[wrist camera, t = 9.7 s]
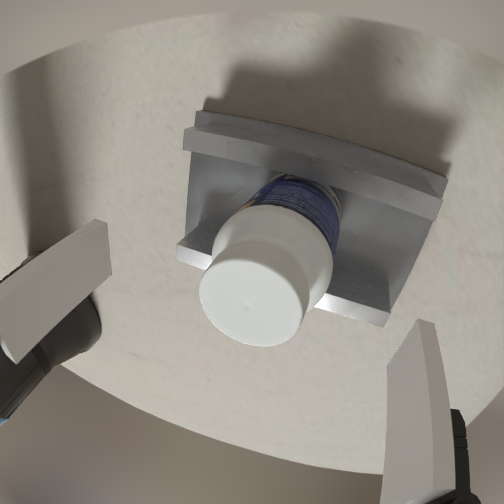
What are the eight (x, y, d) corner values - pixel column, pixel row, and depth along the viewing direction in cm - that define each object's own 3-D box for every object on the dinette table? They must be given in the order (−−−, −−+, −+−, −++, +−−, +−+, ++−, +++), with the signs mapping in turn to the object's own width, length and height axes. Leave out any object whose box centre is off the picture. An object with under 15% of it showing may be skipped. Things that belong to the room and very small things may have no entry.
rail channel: (189, 239, 24) (163, 263, 21) (201, 110, 18) (170, 114, 15) (390, 303, 21) (392, 339, 17) (444, 176, 15) (463, 194, 12)
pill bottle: (269, 157, 18) (189, 215, 10) (354, 188, 17) (348, 276, 9) (249, 233, 21) (176, 326, 13) (324, 262, 20) (292, 376, 12)
